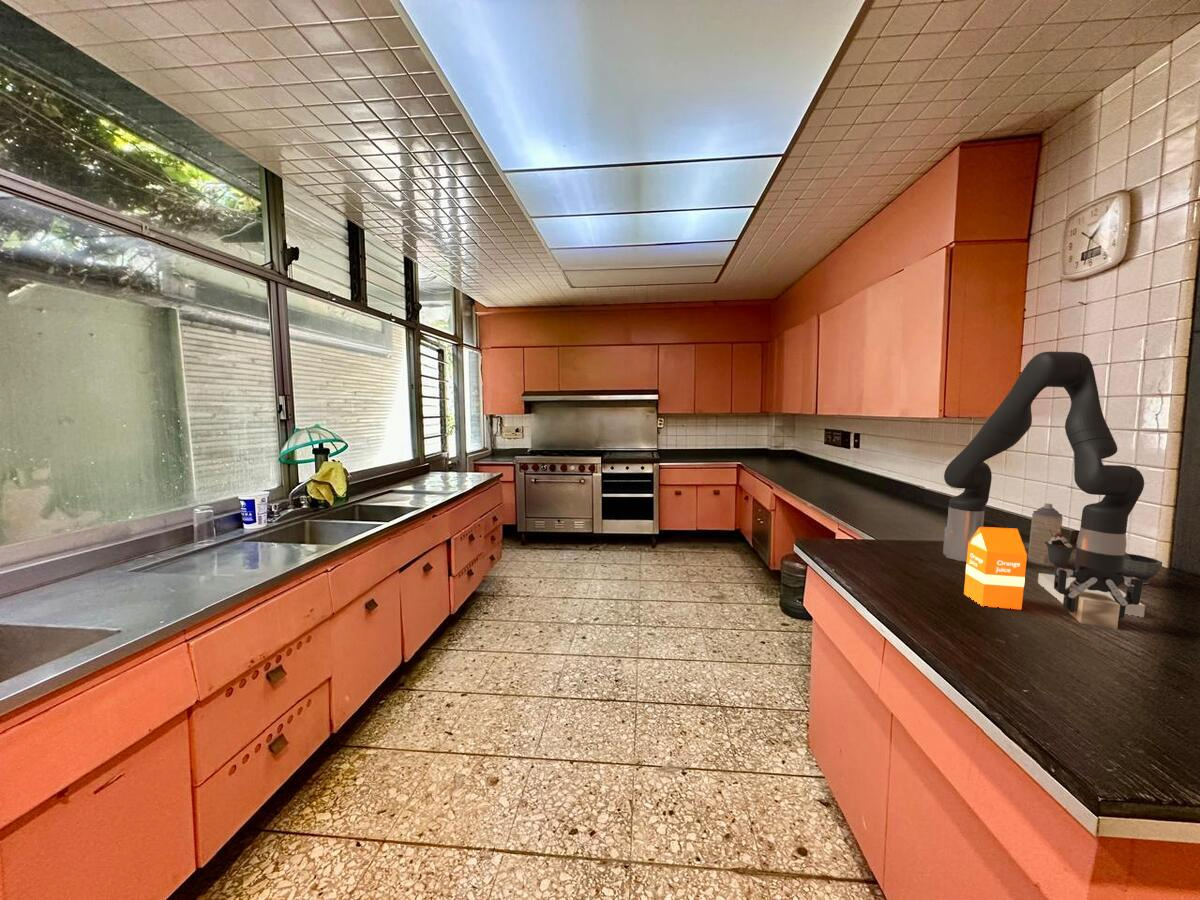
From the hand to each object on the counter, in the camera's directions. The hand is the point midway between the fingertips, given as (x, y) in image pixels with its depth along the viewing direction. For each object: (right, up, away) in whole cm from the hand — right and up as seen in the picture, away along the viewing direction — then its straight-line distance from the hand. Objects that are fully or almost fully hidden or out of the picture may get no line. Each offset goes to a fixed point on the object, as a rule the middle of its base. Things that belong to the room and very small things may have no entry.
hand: (1092, 614), depth 103 cm
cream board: (+12, 0, +12) cm, 17 cm away
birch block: (0, -1, 0) cm, 1 cm away
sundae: (+20, +1, +27) cm, 33 cm away
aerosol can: (+27, +2, +38) cm, 46 cm away
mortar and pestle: (+39, +1, +25) cm, 46 cm away
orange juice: (-15, -1, +10) cm, 18 cm away
